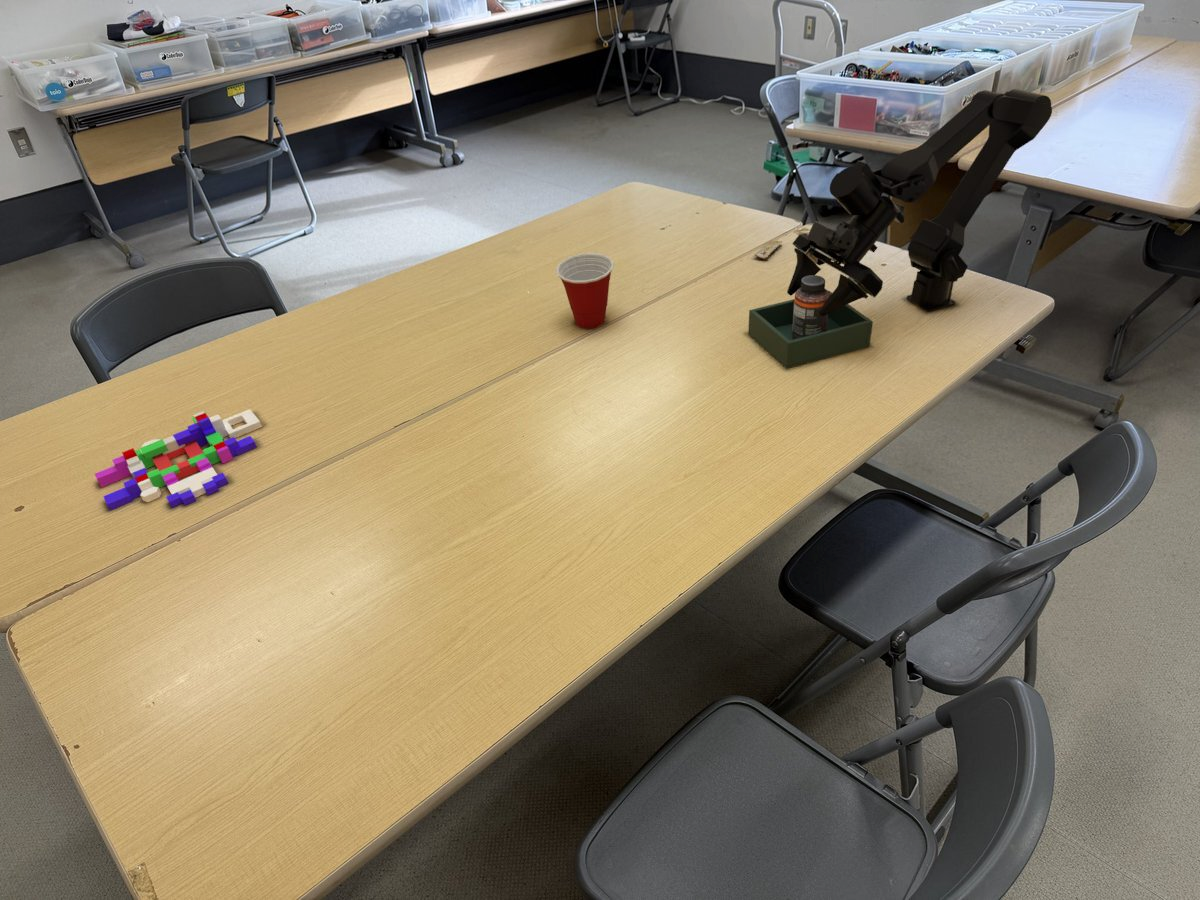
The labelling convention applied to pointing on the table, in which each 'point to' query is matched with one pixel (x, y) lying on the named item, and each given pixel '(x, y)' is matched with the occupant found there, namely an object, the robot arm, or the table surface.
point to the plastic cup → (587, 287)
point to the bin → (840, 337)
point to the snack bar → (768, 249)
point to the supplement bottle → (809, 307)
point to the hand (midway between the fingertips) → (804, 304)
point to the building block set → (170, 474)
